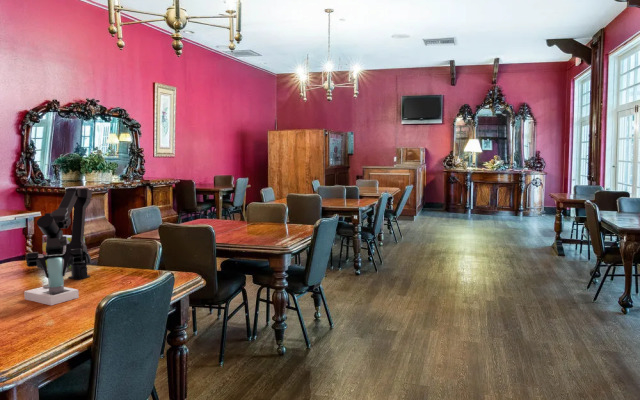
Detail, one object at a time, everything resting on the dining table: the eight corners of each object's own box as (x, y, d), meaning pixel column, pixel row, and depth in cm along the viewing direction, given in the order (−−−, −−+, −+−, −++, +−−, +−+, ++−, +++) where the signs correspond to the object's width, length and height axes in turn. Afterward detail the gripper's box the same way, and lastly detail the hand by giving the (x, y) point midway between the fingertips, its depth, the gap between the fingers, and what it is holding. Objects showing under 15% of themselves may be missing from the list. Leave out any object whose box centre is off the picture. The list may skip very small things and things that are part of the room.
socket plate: (24, 299, 190) (24, 289, 190) (52, 291, 200) (52, 282, 199) (51, 305, 182) (50, 295, 182) (78, 297, 192) (78, 288, 192)
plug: (46, 294, 189) (44, 259, 187) (58, 290, 193) (56, 256, 192) (54, 295, 186) (52, 260, 185) (67, 292, 190) (65, 258, 189)
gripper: (24, 231, 187) (23, 267, 178) (81, 227, 195) (82, 262, 186) (27, 248, 195) (27, 284, 186) (81, 244, 203) (83, 278, 194)
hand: (55, 276), depth 188 cm, fingers closed on plug, 5 cm apart
